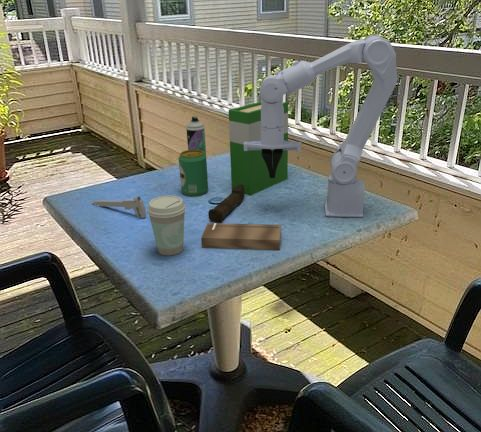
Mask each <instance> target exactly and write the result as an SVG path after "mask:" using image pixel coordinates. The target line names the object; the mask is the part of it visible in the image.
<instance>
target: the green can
mask: <svg viewBox="0 0 481 432" xmlns="http://www.w3.org/2000/svg"><path fill="white" fill-rule="evenodd" d="M206 161H207V155H206V156H205V154H204V152H203V151H201V150H188V149H187V150H184V151H181V152H180V153H179V157H178V169H179V177H180V180H179V181H180V190H181V192H182V193H183V194H184V196H187V197H200V196H203V195H205V194H206V193H207V192H208V189H209V181H208V179H209V178H208V166H207V165H208V162H207V163H206ZM207 178H208V179H207Z"/></svg>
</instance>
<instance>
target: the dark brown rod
mask: <svg viewBox="0 0 481 432" xmlns="http://www.w3.org/2000/svg"><path fill="white" fill-rule="evenodd" d="M245 195H246V194H245V191H244V185H243V184H241V185H237V186H236V187H234V188H233V189H232V188H231V193H230V194H229V195H227V197H225V198H224V199H223V200H222V201H220V203H218V204H217V205H215V206H214V207H213V208H210V209H209V210H208V215H207V216H208V219H209V221H210V223H222V221H223V220H224V218H225V216H227V215H228V213H230V212H231V211H232V210H233V209H234V208H235V207H236V206H238V205H241V204H242V203H243V201H244V199H245Z"/></svg>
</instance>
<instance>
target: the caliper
mask: <svg viewBox="0 0 481 432" xmlns="http://www.w3.org/2000/svg"><path fill="white" fill-rule="evenodd" d="M95 204H96V205H99V206H98V207H115V208H124V210H125V211H127V210H133V212H134V214H135V215H136V217H137V218H138V217H139V218H143V219H145V218H146V217H147V212H146V206H145V203H144V200H143V199H141V196H140V195H139V196H137V195H136V196H134V197H133V199H123V200H108V199H107V200H103V199H97V200H95V201H93V202H91V205H95ZM96 205H95V206H96ZM140 216H141V217H140Z"/></svg>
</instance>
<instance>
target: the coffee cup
mask: <svg viewBox="0 0 481 432" xmlns="http://www.w3.org/2000/svg"><path fill="white" fill-rule="evenodd" d="M186 211H187V207H186V204H185V203H184V200H183V198H182V197H180V196H176V195H161V196H158V197H157V196H156V197H155V198H152V199H151V200H150V201H149V202H148V206H147V212H146V214H148V216H149V220H150V224H151V227H152V231H153V235H154V241H155V243H156V248H157V252H158V254H160V255H162V256H176V255H178V254H181V253H182V252H183V250H184V243H185V242H184V239H185V238H184V237H185V213H186Z"/></svg>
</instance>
